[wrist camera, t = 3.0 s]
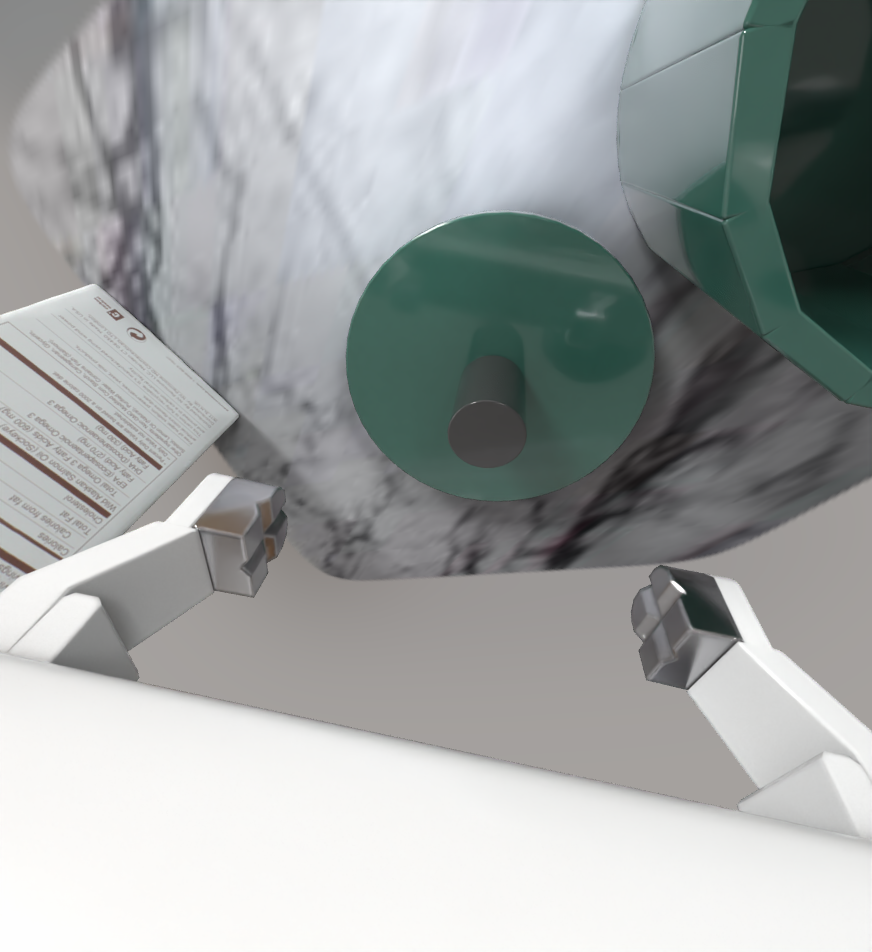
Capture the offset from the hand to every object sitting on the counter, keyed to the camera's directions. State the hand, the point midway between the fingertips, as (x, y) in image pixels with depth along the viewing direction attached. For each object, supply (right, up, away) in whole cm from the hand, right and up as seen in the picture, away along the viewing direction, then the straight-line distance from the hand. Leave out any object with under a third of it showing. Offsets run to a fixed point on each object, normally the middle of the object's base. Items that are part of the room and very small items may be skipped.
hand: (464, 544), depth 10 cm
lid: (+1, +5, +7) cm, 9 cm away
